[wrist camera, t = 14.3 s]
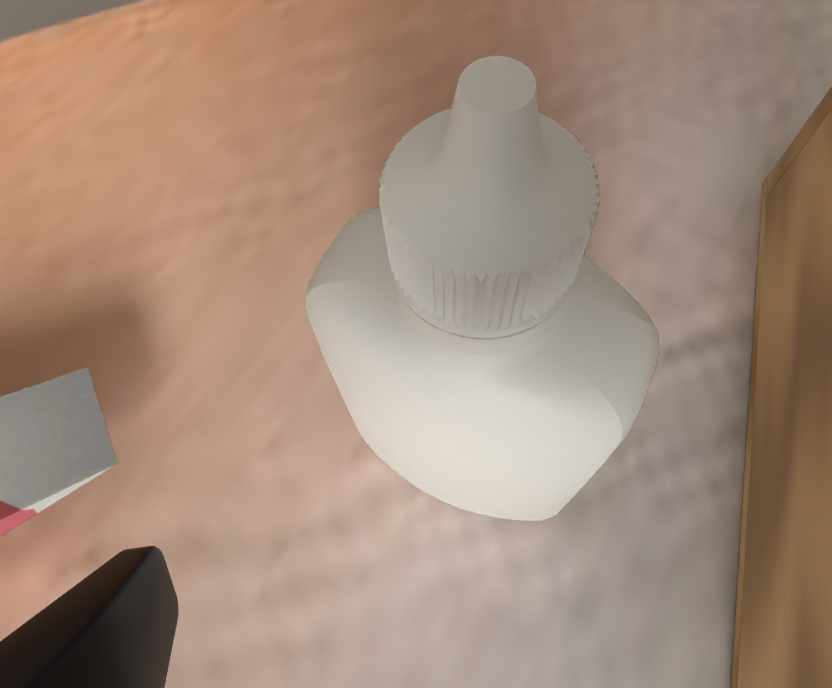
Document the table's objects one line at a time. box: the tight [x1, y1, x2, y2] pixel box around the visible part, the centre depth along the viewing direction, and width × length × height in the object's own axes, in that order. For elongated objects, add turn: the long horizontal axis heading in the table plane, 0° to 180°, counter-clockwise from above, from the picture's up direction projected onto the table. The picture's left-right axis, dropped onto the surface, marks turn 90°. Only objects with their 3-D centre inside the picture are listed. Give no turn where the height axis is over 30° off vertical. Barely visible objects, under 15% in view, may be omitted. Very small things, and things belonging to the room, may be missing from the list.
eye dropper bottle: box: [305, 56, 659, 521], centre depth 11 cm, size 4×6×12 cm
